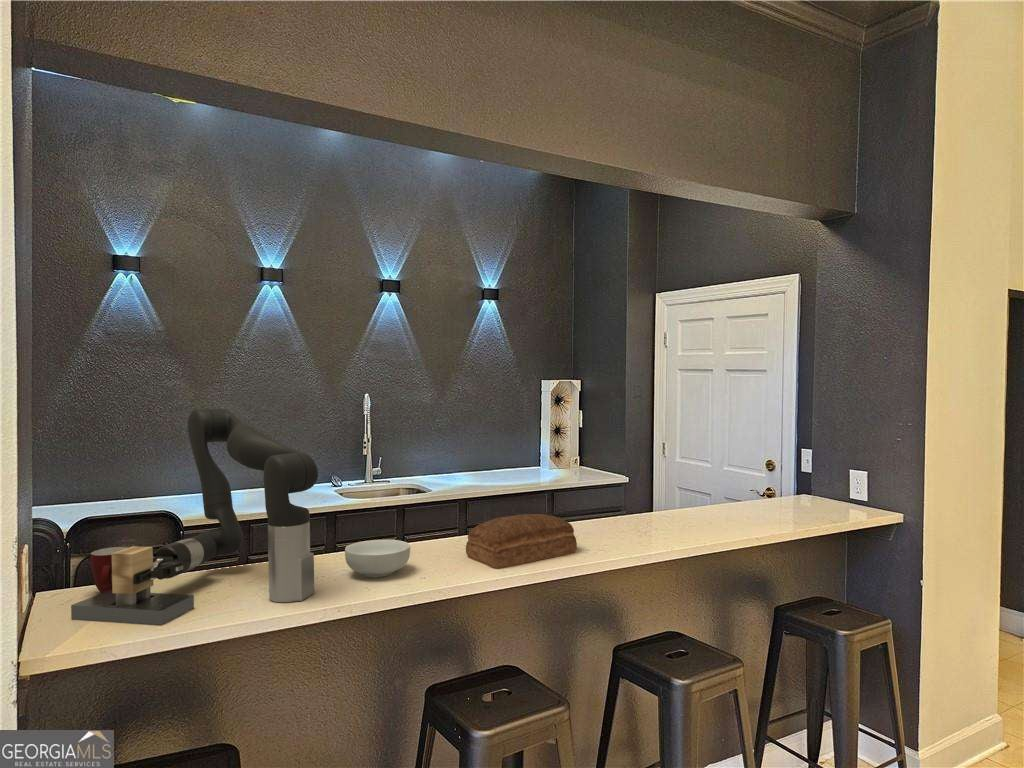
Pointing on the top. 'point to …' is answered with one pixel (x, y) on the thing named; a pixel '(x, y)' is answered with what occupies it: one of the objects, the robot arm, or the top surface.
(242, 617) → the top surface
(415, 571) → the top surface
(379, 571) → the cereal bowl
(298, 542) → the robot arm
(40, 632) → the top surface
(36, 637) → the top surface
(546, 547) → the bread
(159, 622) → the dark grey slab
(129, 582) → the tan wooden tall block
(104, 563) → the mug
